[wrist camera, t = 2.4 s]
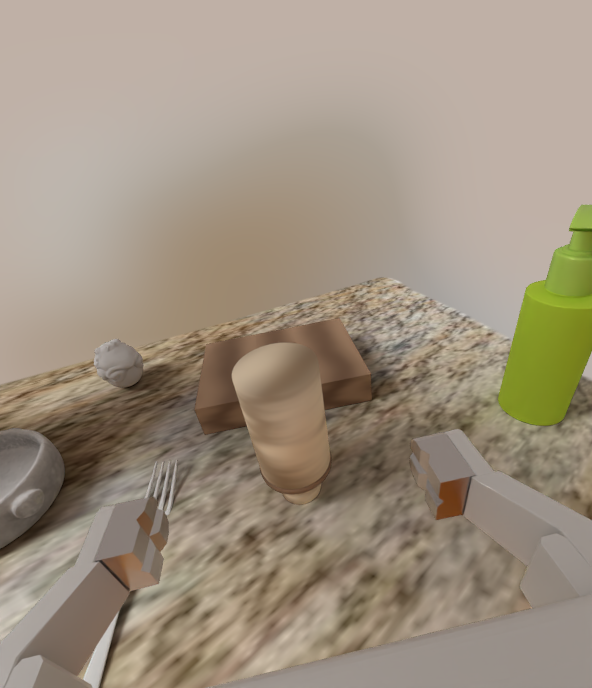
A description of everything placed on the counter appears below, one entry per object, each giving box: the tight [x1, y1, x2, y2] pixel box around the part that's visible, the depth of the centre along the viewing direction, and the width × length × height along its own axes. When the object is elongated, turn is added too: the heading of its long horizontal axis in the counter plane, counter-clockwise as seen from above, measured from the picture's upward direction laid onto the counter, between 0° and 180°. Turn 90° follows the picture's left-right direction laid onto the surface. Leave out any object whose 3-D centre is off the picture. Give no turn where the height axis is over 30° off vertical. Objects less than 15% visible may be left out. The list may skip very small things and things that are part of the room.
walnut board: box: [194, 318, 372, 435], centre depth 43 cm, size 20×14×4 cm
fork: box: [83, 460, 178, 688], centre depth 24 cm, size 3×24×2 cm, turn 1°
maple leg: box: [232, 343, 332, 505], centre depth 27 cm, size 6×6×14 cm
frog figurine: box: [94, 339, 143, 387], centre depth 47 cm, size 6×7×7 cm
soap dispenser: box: [498, 205, 592, 426], centre depth 29 cm, size 6×7×20 cm
